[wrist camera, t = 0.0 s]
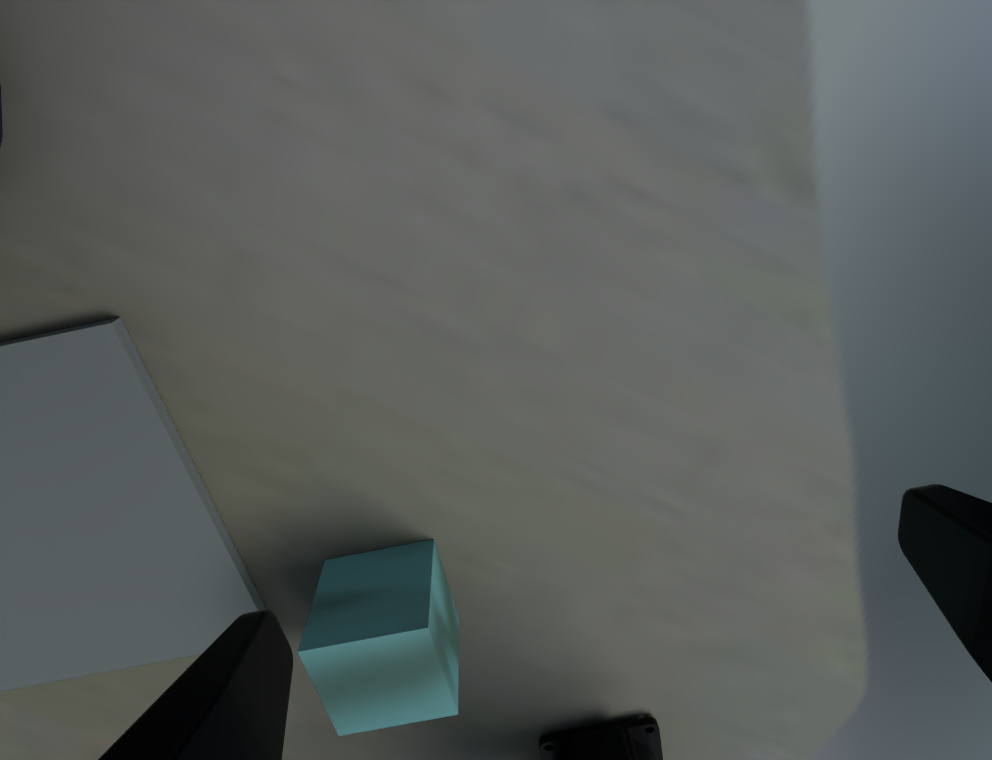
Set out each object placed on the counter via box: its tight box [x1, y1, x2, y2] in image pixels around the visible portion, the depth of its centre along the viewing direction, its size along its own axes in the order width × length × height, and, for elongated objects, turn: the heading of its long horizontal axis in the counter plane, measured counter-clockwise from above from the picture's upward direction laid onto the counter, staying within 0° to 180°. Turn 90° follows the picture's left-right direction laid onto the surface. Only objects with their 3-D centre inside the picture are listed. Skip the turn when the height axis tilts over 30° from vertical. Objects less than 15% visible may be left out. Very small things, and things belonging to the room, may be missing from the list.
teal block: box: [298, 539, 459, 736], centre depth 26 cm, size 5×5×5 cm
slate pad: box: [0, 317, 266, 691], centre depth 25 cm, size 16×16×1 cm
